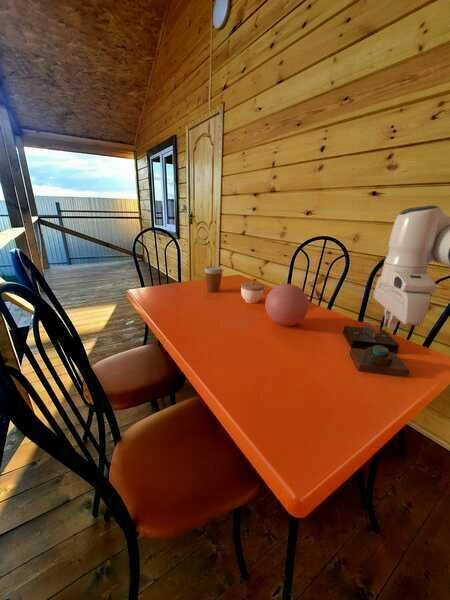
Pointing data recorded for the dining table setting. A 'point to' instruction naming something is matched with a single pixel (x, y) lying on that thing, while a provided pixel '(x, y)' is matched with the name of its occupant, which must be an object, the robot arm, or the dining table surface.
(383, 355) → the button
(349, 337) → the panel
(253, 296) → the trinket box
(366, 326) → the knob
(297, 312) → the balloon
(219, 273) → the disposable coffee cup
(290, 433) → the dining table surface
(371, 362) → the button block
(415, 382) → the dining table surface
